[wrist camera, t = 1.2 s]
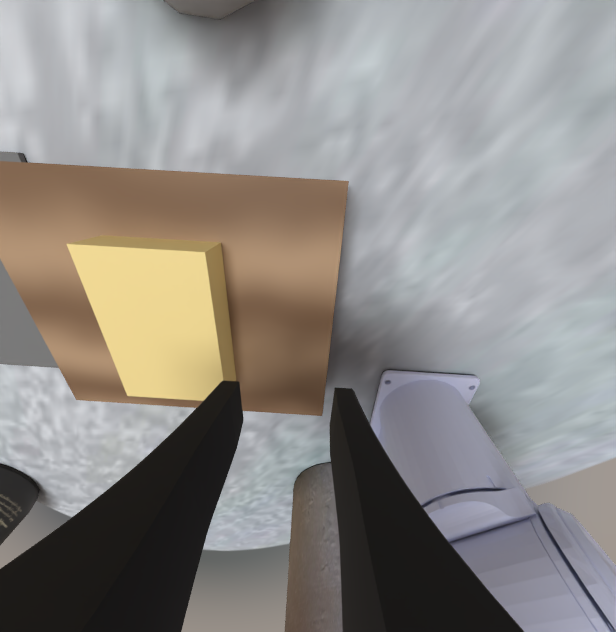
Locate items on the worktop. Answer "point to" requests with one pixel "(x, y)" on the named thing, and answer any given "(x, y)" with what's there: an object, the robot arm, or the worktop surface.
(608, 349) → the worktop surface
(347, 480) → the robot arm
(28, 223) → the plate
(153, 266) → the yellow block
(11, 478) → the jar
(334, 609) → the pillar candle
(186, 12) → the cup
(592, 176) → the worktop surface
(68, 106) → the worktop surface
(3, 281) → the mat
